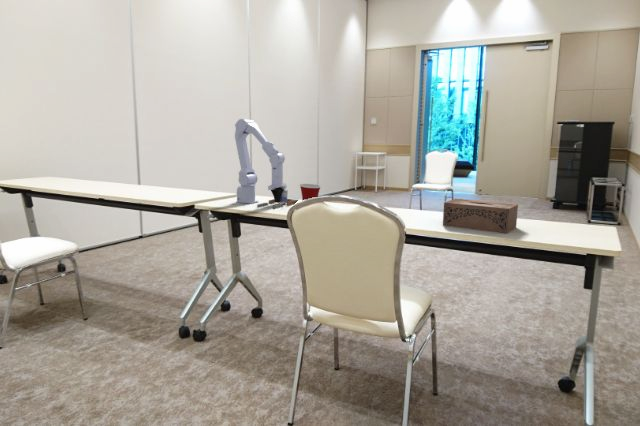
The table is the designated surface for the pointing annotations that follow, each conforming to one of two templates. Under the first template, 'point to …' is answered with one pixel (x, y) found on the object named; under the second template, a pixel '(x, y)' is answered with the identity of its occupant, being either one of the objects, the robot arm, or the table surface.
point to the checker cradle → (267, 204)
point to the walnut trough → (289, 201)
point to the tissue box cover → (480, 215)
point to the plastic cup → (309, 190)
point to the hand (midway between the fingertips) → (277, 202)
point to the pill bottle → (284, 195)
